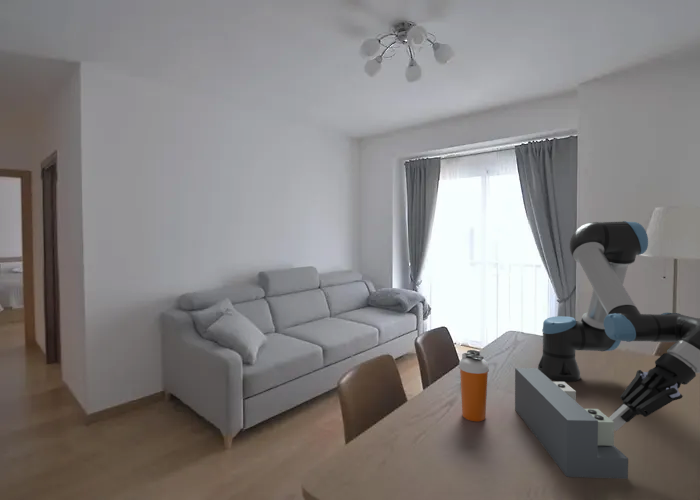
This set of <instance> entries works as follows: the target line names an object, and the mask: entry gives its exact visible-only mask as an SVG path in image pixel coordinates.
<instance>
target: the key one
mask: <svg viewBox="0 0 700 500" xmlns="http://www.w3.org/2000/svg"><path fill="white" fill-rule="evenodd" d="M553 382H554V383H555V384H556V385H557V386H558V387H559V388H561V389H562V390H563V391H564V392H565V393H566V394H568V395H569V396H570V397H571V398H572V399H573V400H575V401H576V402H577V391H576V390H575V389H574V388H572V387H571V386H570V385H569V384H568V383H567V382H564V381H553Z"/></svg>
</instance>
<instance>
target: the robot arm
mask: <svg viewBox="0 0 700 500" xmlns="http://www.w3.org/2000/svg"><path fill="white" fill-rule="evenodd" d="M648 246H649V237H648V233H647V231H646V229H645V228H644V226H643V225H642V224H641V223H639V222H636V221H625V220H624V221H593V222H587V223H584V224H581V225H580V226H579V227H577V229H576V230H575V231H574V232H573V234H572V235H571V237H570V240H569V250H570V251H569V252H570V254H571V256H572V258H573V260H574V262H577V263H579V264H580V267H581V268H582V270H583V272H584V274H585V276H586V277H587V279H588V282H589V283H590V285H591V287H592V293H591V296H590V301H589V306H588V310H587V312H584V313H583V314H582V316H581V320H576V319H575V317H572V316H566V315H565V316H563V315H562V316H561V315H559V316H558V315H557V316H552V317H547V318H546V319H545V320H544V321H543V324H542V354H541V356H540V357H541V358H540V360H539V362H538V364H537V365H538V366H537V369H539V370H540V371H541V372H542V373H543V374H544V375H546V376H547V377H548V378H549V379H550V380H551V381H552V380H553V381H555V382H565V383H567V382H568V383H569V382H570V383H572V382H577V381H579V380H580V379H581V371H580V368H579V365H578V362H577V359H576V351H590V352H591V351H592V352H596V351H597V352H610V351H611V352H612V351H615V350H616V349H617V348H618V347H619V346H620V345H621V342H626V343H627V342H629V343H630V342H651V343H652V342H653V343H654V342H655V343H673V344H672V345H671V346H670V347H669V348H668V349H666V352H664V353H663V354H661V356H659V357H658V358H657V359H656V360H654V364H655V366H654V367H653V368H651V369H649V370H648V371H642V370H641V369H638V370H637V371H636V372H635V373H636V374H635V376H634V378H633V379H632V380H631V382H630V383H629V384H628V386H627V387H626V388H625V389H624V391H623V392H622V393H621V395H620V397H619V398H620V400H621V401H622V404H621V405H619V407H617V408H616V409H615V410H614V412H613V413H612V414H611V415H610V416H609V417H608V418H610V419H611V420H612V421H613V422H614V432H617V431H618V430H620V429H621V428H622V427H623V426H624V425H625V424H626V423H629V422H630V421H631V420H632V419H634V418H635V417H636V416H639V415H641V416H643V417H645V418H647V417H649V416H651V415H652V414H654V413H655V412H657V411H658V410H660V409H662V408H664V407H665V406H667V405H668V404H670V403H672V402H674V401H677V400H680V399H681V400H682V398H683V397H684V395H682V393H680V391H679V388H680V387H681V385H688V384H689V383H690V382H691V381H692V380H693V379H695V377H696V376H697V374H700V318H698V317H694V316H689V315H684V314H681V313H678V312H663V313H660V314H659V313H658V314H655V313H654V314H653V313H652V314H651V313H650V314H649V313H648V314H647V313H641V312H640V311H639V309H638V307H637V306H636V304H635V302H634V301H633V299H632V298H631V296H630V295H629V293H628V291H627V289H626V288H625V286H624V282H625V278H626V274H627V270H628V266H629V265H632V264H633V263H635V261H636V258H637V256H640V255H643V254H644V253H646V252H647V250H648Z"/></svg>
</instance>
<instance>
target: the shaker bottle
mask: <svg viewBox="0 0 700 500" xmlns="http://www.w3.org/2000/svg"><path fill="white" fill-rule="evenodd" d="M458 365H459V367H458V368H459V375H460V390H461V391H460V392H461V393H460V394H461V395H460V396H461V412H462V413H461V414H462V417H463V418H464V419H465V420H468V421H470V422H483V421H485V420H486V413H487V409H486V408H487V393H488V378H489V377H488V375H489V373H488V372H489V371H490V370H489V363H488V361H486V360H485V358H484V356H482V355H481V354H480V355H476V354H475V352H469V353H467V352H463V353H462V354H461V359H460V360H459V363H458Z"/></svg>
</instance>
